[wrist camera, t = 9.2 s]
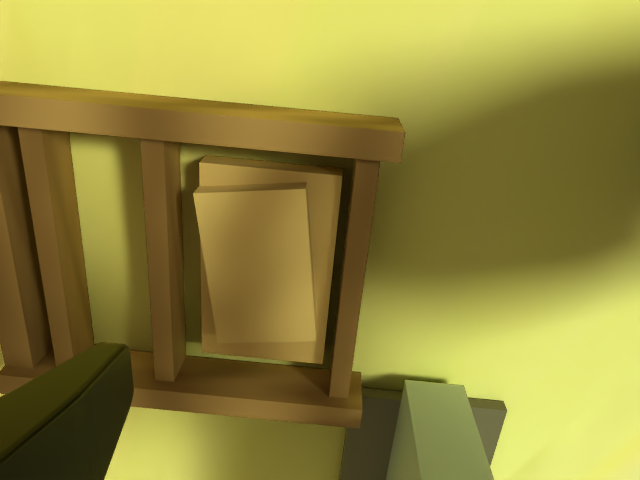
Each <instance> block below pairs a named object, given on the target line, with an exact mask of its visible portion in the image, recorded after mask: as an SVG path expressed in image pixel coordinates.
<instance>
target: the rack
mask: <svg viewBox="0 0 640 480" xmlns="http://www.w3.org/2000/svg"><path fill="white" fill-rule="evenodd" d="M69 132H78V133H88V134H99V135H110V136H120V137H131V138H140V145H141V161H142V177H143V193H144V209H145V225H146V241H147V257H148V273H149V289H150V305H151V321H152V337H153V352H142V351H132V350H130V354H131V364H132V374H133V383H134V394H133V399H132V403H131V406H132V407H142V408H153V409H163V410H173V411H184V412H194V413H204V414H215V415H225V416H235V417H246V418H256V419H266V420H276V421H287V422H297V423H307V424H318V425H328V426H338V427H349V428H359V429H360V423H361V417H362V388H361V373H360V372H352V365H353V358H354V351H355V343H356V336H357V329H358V321H359V314H360V307H361V299H362V292H363V285H364V277H365V270H366V263H367V255H368V248H369V241H370V233H371V226H372V219H373V211H374V204H375V197H376V190H377V182H378V175H379V168H380V161H386V162H397V163H401V157H402V150H403V144H404V137H405V131H404V129H403V127H402V125H401V123H400V121H399V119H398V118H391V117H380V116H369V115H359V114H348V113H337V112H327V111H316V110H305V109H295V108H284V107H273V106H263V105H252V104H241V103H230V102H220V101H209V100H198V99H188V98H177V97H166V96H156V95H145V94H134V93H124V92H113V91H102V90H91V89H81V88H70V87H59V86H49V85H38V84H27V83H17V82H6V81H0V343H1V348H2V352H3V357H4V362H5V366H4V367H3V369H2V370H1V371H0V393H1V394H7V393H9V392H10V391H12V390H14V389H16V388H18V387H20V386H21V385H23V384H25V383H27V382H29V381H30V380H32V379H34V378H36V377H38V376H40V375H41V374H43V373H45V372H47V371H49V370H50V369H52V368H54V367H56V366H58V365H60V364H61V363H63V362H65V361H67V360H69V359H70V358H72V357H74V356H76V355H78V354H80V353H81V352H83V351H85V350H87V349H89V348H90V347H92V346H94V338H93V330H92V321H91V313H90V305H89V296H88V288H87V280H86V271H85V263H84V255H83V246H82V238H81V230H80V221H79V213H78V205H77V197H76V188H75V180H74V172H73V163H72V155H71V147H70V138H69ZM180 142H184V143H195V144H205V145H216V146H227V147H237V148H248V149H259V150H269V151H280V152H290V153H301V154H312V155H322V156H333V157H344V158H354V166H353V175H352V184H351V192H350V201H349V210H348V218H347V227H346V236H345V245H344V253H343V262H342V271H341V279H340V288H339V297H338V306H337V314H336V323H335V332H334V341H333V349H332V358H331V367H330V370H329V369H319V368H308V367H298V366H288V365H277V364H267V363H257V362H246V361H236V360H225V359H215V358H205V357H194V356H186V338H185V305H184V272H183V239H182V205H181V172H180Z"/></svg>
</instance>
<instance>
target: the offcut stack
mask: <svg viewBox="0 0 640 480" xmlns="http://www.w3.org/2000/svg"><path fill="white" fill-rule="evenodd" d="M342 176H343V168H335V167H324V166H314V165H303V164H292V163H282V162H271V161H261V160H250V159H239V158H229V157H218V156H207V155H206V156H205V157H204V158H203V159H202V160H201V161H200V162H199V181H200V186H199V187H198V188H197V189H196V190H195V192H194V193H193V197H194V203H195V209H196V215H197V221H198V227H199V233H200V251H201V320H202V352H203V353H214V354H224V355H234V356H245V357H255V358H265V359H276V360H286V361H297V362H307V363H317V364H323V355H324V346H325V336H326V327H327V317H328V308H329V299H330V289H331V280H332V270H333V261H334V252H335V242H336V233H337V223H338V214H339V205H340V195H341V186H342Z"/></svg>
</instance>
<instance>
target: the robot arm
mask: <svg viewBox="0 0 640 480" xmlns="http://www.w3.org/2000/svg"><path fill="white" fill-rule="evenodd" d="M133 394H134V383H133V374H132V364H131V354H130V350H129V348H128V347H127V346H126V345H125V344H117V343H106V342H102V343H98V344H96V345H94V346H92V347H90V348H89V349H87V350H85V351H83V352H81V353H80V354H78V355H76V356H74V357H72V358H70V359H69V360H67V361H65V362H63V363H61V364H60V365H58V366H56V367H54V368H52V369H50V370H49V371H47V372H45V373H43V374H41V375H40V376H38V377H36V378H34V379H32V380H30V381H29V382H27V383H25V384H23V385H21V386H20V387H18V388H16V389H14V390H12V391H10V392H9V393H7V394H5V395H3V396H1V397H0V480H104V478H105V476H106V473H107V470H108V467H109V464H110V462H111V459H112V456H113V453H114V451H115V448H116V445H117V442H118V440H119V437H120V434H121V431H122V428H123V426H124V423H125V420H126V417H127V415H128V412H129V409H130V406H131V403H132V399H133Z"/></svg>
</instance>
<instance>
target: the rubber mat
mask: <svg viewBox="0 0 640 480" xmlns="http://www.w3.org/2000/svg"><path fill="white" fill-rule="evenodd" d="M402 393H403V392H402V391H392V390H382V389H371V388H362V417H361V423H360V429H359V428H349V427H346V435H345V442H344V449H343V456H342V463H341V470H340V478H339V480H386V476H387V471H388V466H389V461H390V455H391V450H392V445H393V440H394V435H395V429H396V424H397V419H398V414H399V409H400V403H401V398H402ZM468 400H469V403H470V406H471V409H472V413H473V416H474V419H475V422H476V425H477V428H478V431H479V434H480V438H481V441H482V444H483V447H484V450H485V453H486V456H487V459H488V462H489V466H490V465H491V462H492V458H493V455H494V452H495V449H496V445H497V442H498V439H499V435H500V432H501V429H502V426H503V422H504V419H505V416H506V413H507V409H506V407H505V404H504V402H503V401H496V400H485V399H475V398H468Z"/></svg>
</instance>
